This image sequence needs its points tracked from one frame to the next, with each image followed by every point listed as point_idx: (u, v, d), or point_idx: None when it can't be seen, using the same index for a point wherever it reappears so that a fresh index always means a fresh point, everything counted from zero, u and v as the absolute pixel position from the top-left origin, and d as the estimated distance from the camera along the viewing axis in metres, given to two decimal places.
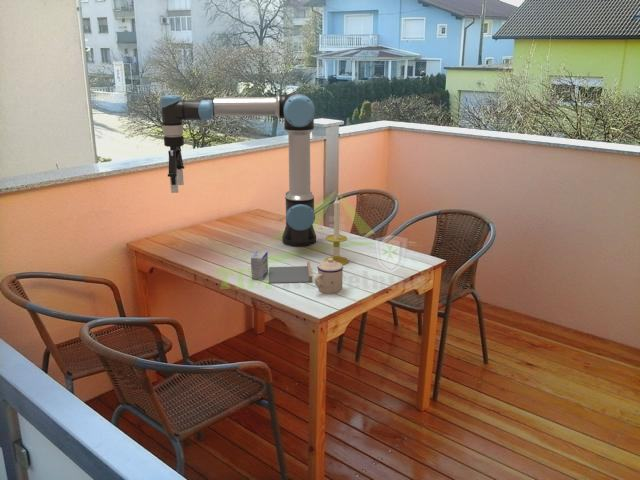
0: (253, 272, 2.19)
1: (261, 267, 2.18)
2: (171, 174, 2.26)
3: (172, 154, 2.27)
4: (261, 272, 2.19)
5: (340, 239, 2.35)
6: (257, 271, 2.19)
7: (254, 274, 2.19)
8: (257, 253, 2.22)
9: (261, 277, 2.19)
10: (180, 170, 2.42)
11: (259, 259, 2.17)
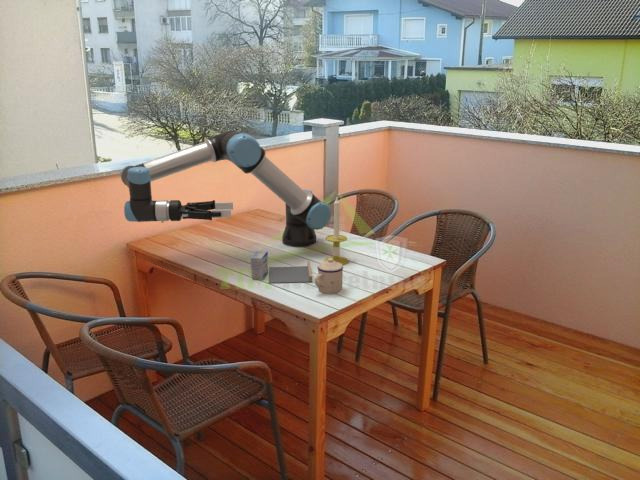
0: (253, 272, 2.19)
1: (261, 267, 2.18)
2: (207, 216, 2.07)
3: (186, 214, 2.08)
4: (261, 272, 2.19)
5: (340, 239, 2.35)
6: (257, 271, 2.19)
7: (254, 274, 2.19)
8: (257, 253, 2.22)
9: (261, 277, 2.19)
10: (216, 205, 2.19)
11: (259, 259, 2.17)
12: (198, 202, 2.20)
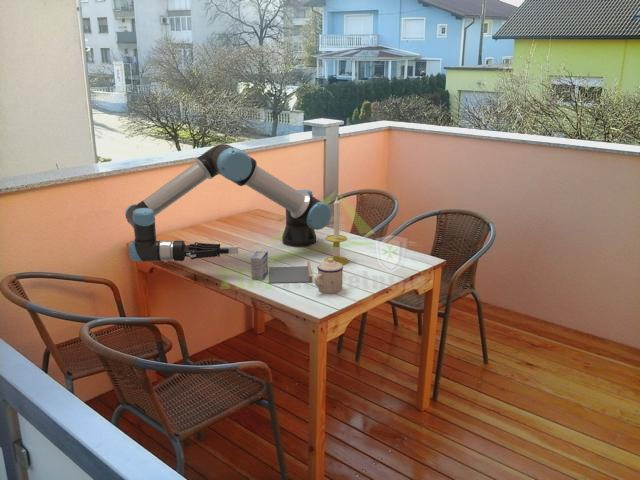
0: (253, 272, 2.19)
1: (261, 267, 2.18)
2: (215, 253, 2.16)
3: (194, 254, 2.13)
4: (261, 272, 2.19)
5: (340, 239, 2.35)
6: (257, 271, 2.19)
7: (254, 274, 2.19)
8: (257, 253, 2.22)
9: (261, 277, 2.19)
10: None
11: (259, 259, 2.17)
12: (204, 243, 2.23)
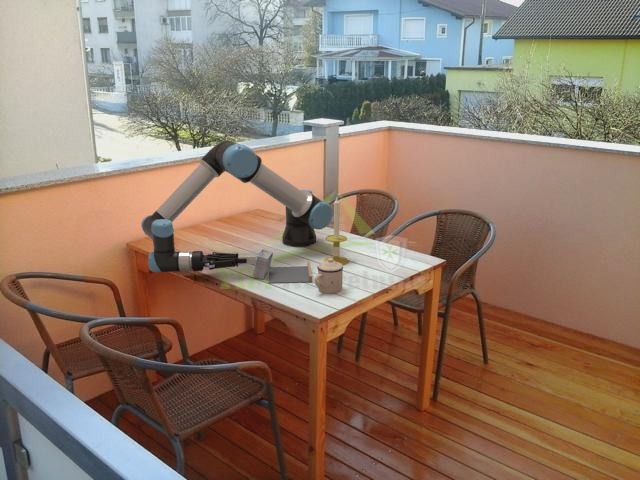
0: (256, 270, 2.19)
1: (265, 267, 2.18)
2: (233, 263, 2.17)
3: (213, 265, 2.15)
4: (263, 272, 2.19)
5: (340, 239, 2.35)
6: (260, 270, 2.19)
7: (256, 272, 2.19)
8: (263, 252, 2.22)
9: (262, 277, 2.19)
10: None
11: (265, 259, 2.17)
12: (222, 253, 2.24)
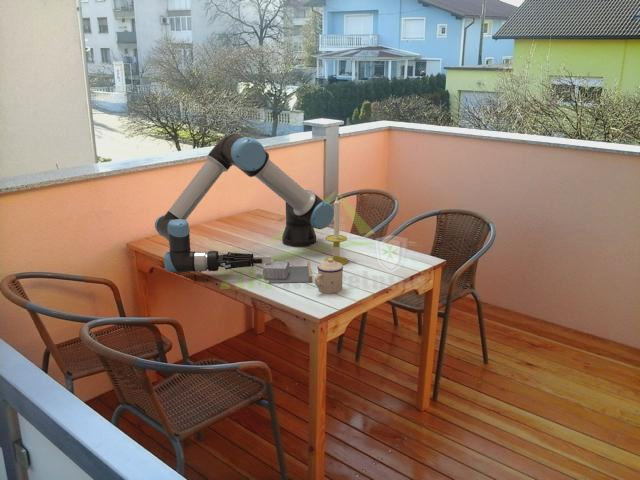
0: (270, 270, 2.18)
1: (276, 278, 2.19)
2: (249, 263, 2.18)
3: (229, 265, 2.15)
4: (271, 277, 2.19)
5: (340, 239, 2.35)
6: (271, 274, 2.19)
7: (268, 271, 2.19)
8: (288, 266, 2.23)
9: (265, 277, 2.19)
10: None
11: (284, 276, 2.19)
12: (237, 253, 2.25)
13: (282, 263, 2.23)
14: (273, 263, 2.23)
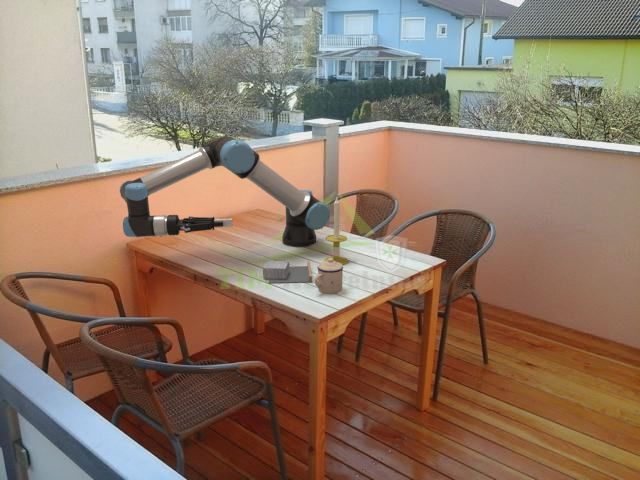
0: (270, 270, 2.18)
1: (276, 278, 2.19)
2: (209, 226, 2.14)
3: (189, 228, 2.11)
4: (271, 277, 2.19)
5: (340, 239, 2.35)
6: (271, 274, 2.19)
7: (268, 271, 2.19)
8: (288, 266, 2.23)
9: (265, 277, 2.19)
10: None
11: (284, 276, 2.19)
12: (198, 217, 2.21)
13: (282, 263, 2.23)
14: (273, 263, 2.23)
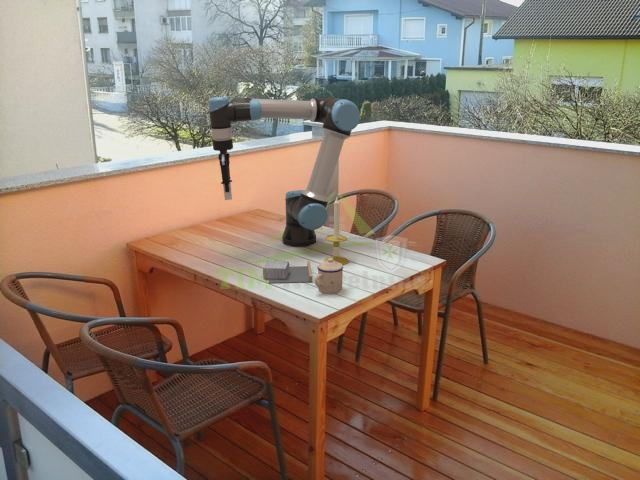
0: (270, 270, 2.18)
1: (276, 278, 2.19)
2: (225, 181, 2.26)
3: (224, 164, 2.21)
4: (271, 277, 2.19)
5: (340, 239, 2.35)
6: (271, 274, 2.19)
7: (268, 271, 2.19)
8: (288, 266, 2.23)
9: (265, 277, 2.19)
10: None
11: (284, 276, 2.19)
12: None
13: (282, 263, 2.23)
14: (273, 263, 2.23)
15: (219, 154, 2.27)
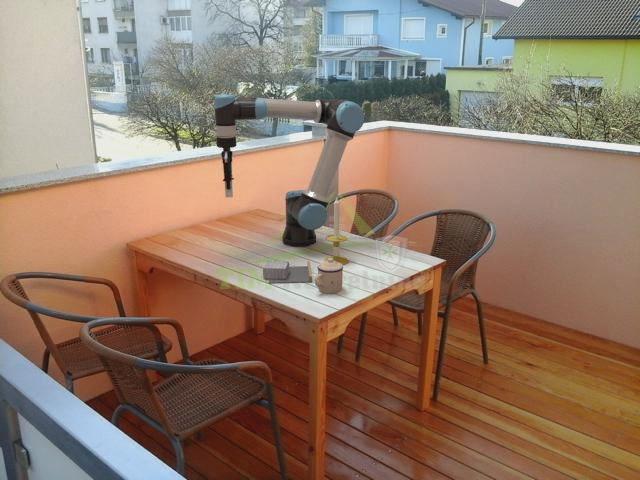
0: (270, 270, 2.18)
1: (276, 278, 2.19)
2: (227, 179, 2.26)
3: (226, 161, 2.22)
4: (271, 277, 2.19)
5: (340, 239, 2.35)
6: (271, 274, 2.19)
7: (268, 271, 2.19)
8: (288, 266, 2.23)
9: (265, 277, 2.19)
10: None
11: (284, 276, 2.19)
12: (231, 162, 2.32)
13: (282, 263, 2.23)
14: (273, 263, 2.23)
15: (222, 151, 2.27)
